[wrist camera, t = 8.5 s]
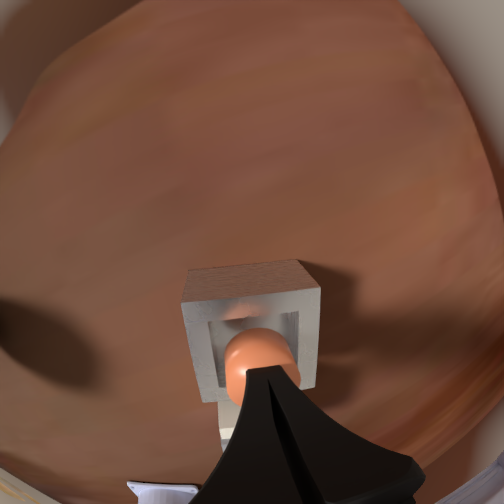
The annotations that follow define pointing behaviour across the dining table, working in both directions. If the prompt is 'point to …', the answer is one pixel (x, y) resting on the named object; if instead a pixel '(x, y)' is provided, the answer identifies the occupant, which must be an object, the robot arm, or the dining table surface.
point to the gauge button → (256, 358)
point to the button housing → (249, 316)
